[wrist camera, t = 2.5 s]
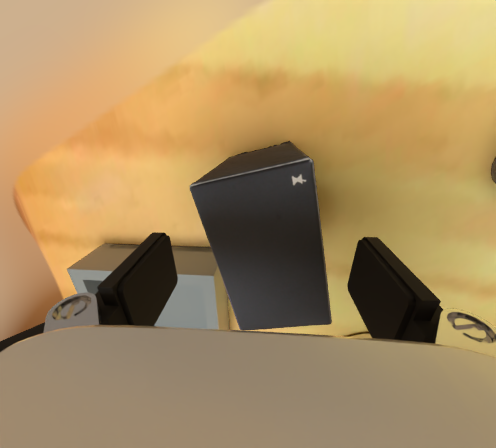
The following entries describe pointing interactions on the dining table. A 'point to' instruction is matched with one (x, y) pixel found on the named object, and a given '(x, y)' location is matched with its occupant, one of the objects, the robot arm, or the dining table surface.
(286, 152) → the small box
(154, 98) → the dining table surface
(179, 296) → the crate
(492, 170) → the beverage cup
